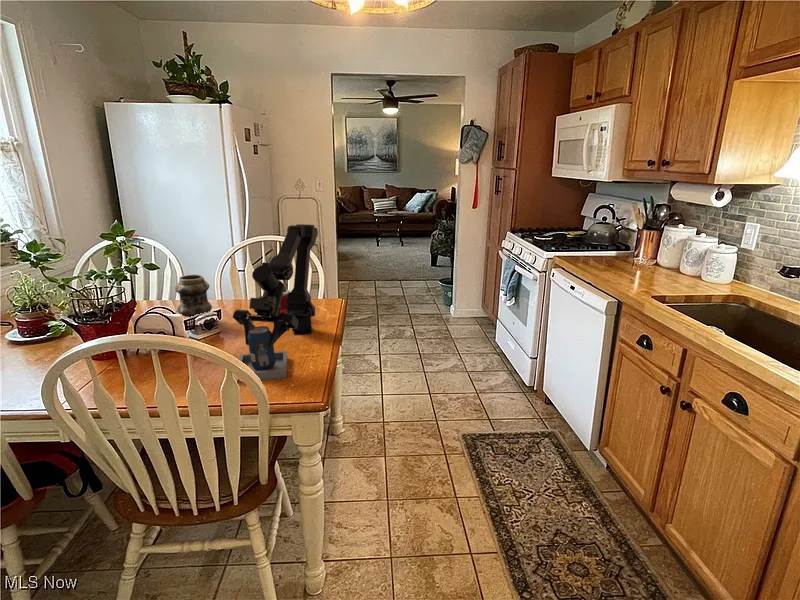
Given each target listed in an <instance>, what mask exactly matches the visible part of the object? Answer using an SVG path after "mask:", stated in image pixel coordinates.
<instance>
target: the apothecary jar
mask: <svg viewBox="0 0 800 600" xmlns="http://www.w3.org/2000/svg"><path fill="white" fill-rule="evenodd" d="M209 288H210V284H209V282H208V281H206V280H205V277H204V276H203V275H202V274H186V275H185V274H184V275H181V276H179V278H178V282H177V284H176V285H175V287H174V290H175V292H176V293H178V295H179V302H180V304H179V305H178V306H177V312H178V313H179V314H180V315H181V314H182V315H181V316H183V317H187V318H190V317H191V316H194V315H196V314H200V313H204V312H208V311H210V312H211V310H212V308H213V306H212V303H211V302H209V301H208V294H207V293H208V290H209Z"/></svg>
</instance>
